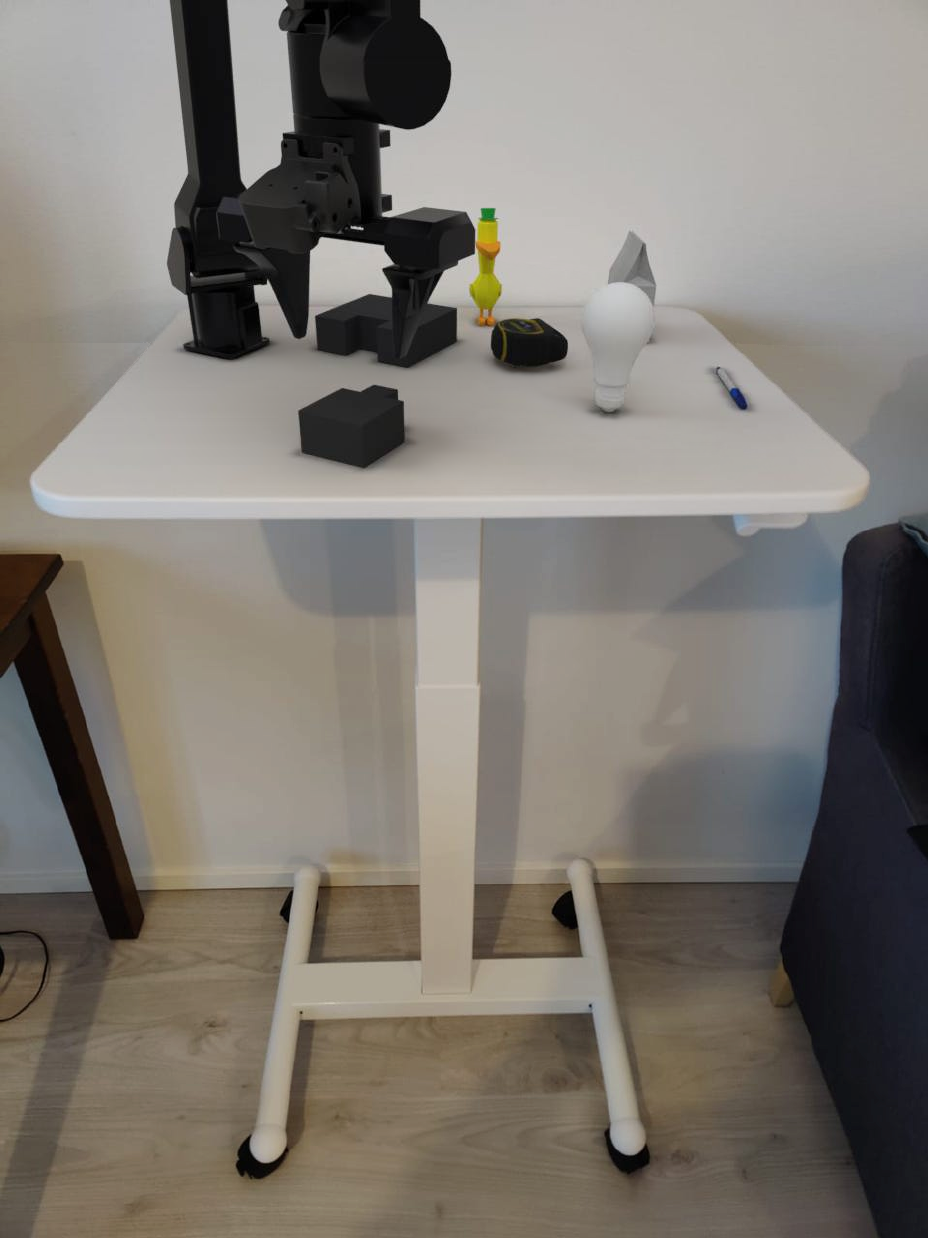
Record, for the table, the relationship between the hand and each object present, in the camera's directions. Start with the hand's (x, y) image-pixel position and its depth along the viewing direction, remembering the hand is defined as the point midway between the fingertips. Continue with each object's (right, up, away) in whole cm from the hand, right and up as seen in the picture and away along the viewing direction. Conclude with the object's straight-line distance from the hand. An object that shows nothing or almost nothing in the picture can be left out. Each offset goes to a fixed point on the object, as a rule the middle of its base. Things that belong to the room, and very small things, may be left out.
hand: (349, 347), depth 70 cm
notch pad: (+1, +8, +27) cm, 28 cm away
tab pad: (0, -7, +4) cm, 8 cm away
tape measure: (+15, +5, +23) cm, 28 cm away
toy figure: (+11, +12, +34) cm, 38 cm away
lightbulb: (+22, -2, +12) cm, 25 cm away
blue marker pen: (+34, +1, +17) cm, 38 cm away
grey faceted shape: (+27, +11, +31) cm, 43 cm away
